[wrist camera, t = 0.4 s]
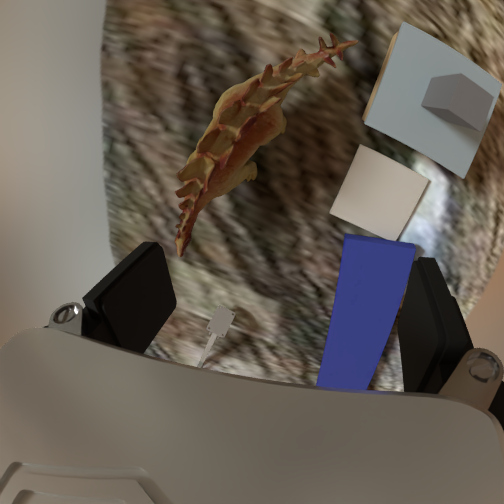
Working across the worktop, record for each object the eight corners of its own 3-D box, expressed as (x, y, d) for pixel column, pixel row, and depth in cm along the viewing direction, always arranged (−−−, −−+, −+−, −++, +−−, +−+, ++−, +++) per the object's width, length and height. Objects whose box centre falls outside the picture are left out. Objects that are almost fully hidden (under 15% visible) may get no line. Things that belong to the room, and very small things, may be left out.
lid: (401, 23, 20) (424, -1, 13) (497, 84, 19) (542, 86, 12) (364, 123, 27) (375, 132, 19) (460, 176, 26) (495, 205, 19)
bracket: (236, 312, 49) (210, 365, 44) (221, 338, 68) (203, 375, 63) (219, 303, 49) (191, 356, 44) (209, 331, 68) (190, 369, 63)
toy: (356, 66, 31) (377, 31, 18) (207, 236, 45) (161, 284, 31) (303, 26, 30) (294, -25, 17) (164, 200, 44) (104, 233, 30)
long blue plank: (316, 382, 57) (362, 391, 54) (313, 394, 55) (360, 403, 51) (345, 231, 39) (415, 243, 36) (343, 241, 37) (417, 254, 34)
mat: (360, 143, 33) (360, 144, 33) (427, 178, 33) (428, 179, 32) (329, 211, 39) (329, 213, 38) (393, 241, 38) (394, 243, 38)
